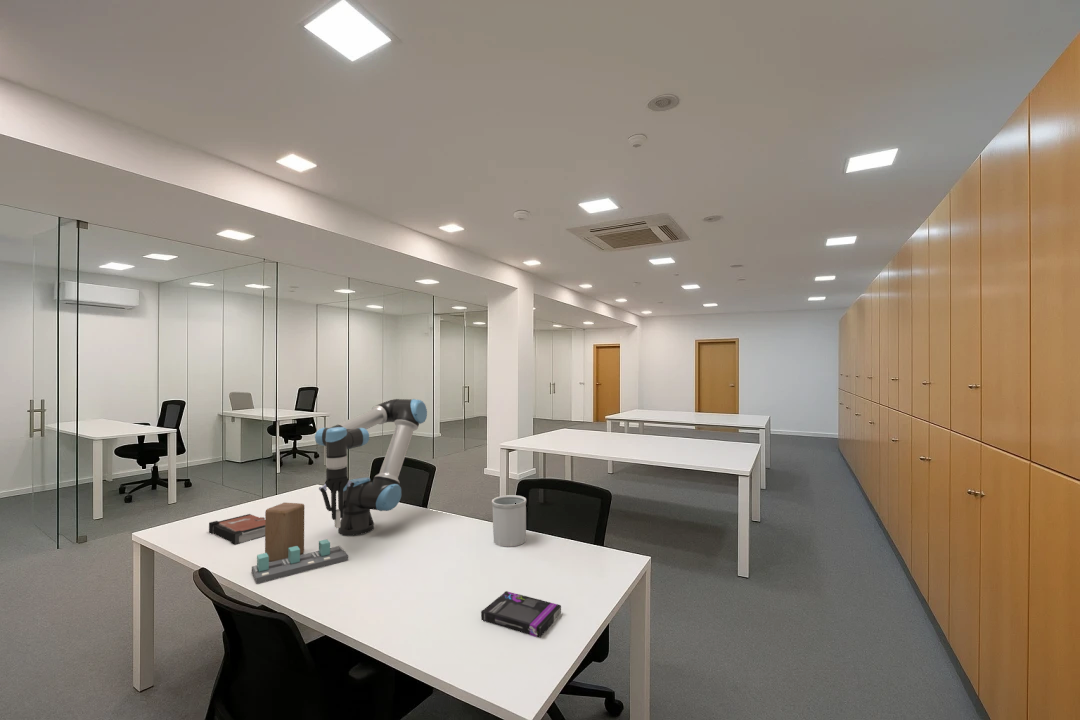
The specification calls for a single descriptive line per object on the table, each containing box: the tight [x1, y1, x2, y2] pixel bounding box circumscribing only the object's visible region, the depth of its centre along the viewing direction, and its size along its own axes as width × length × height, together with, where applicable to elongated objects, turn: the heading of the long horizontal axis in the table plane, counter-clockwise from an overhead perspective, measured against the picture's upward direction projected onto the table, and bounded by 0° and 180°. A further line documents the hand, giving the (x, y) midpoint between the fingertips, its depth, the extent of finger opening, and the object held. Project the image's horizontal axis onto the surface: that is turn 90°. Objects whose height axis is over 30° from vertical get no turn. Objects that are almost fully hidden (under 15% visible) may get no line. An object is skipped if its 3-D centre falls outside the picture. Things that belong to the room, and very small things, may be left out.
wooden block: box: [264, 502, 305, 562], centre depth 175 cm, size 10×10×20 cm
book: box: [208, 513, 265, 546], centre depth 202 cm, size 26×18×5 cm
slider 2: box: [288, 546, 300, 564], centre depth 166 cm, size 3×4×4 cm, turn 40°
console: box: [251, 545, 349, 585], centre depth 167 cm, size 30×12×3 cm, turn 130°
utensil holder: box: [491, 494, 527, 548], centre depth 191 cm, size 15×15×18 cm
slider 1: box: [256, 552, 270, 572], centre depth 160 cm, size 3×4×4 cm, turn 40°
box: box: [480, 590, 562, 638], centre depth 132 cm, size 14×4×20 cm
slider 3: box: [318, 538, 331, 556], centre depth 173 cm, size 3×4×4 cm, turn 40°
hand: (337, 526), depth 177 cm, fingers closed
